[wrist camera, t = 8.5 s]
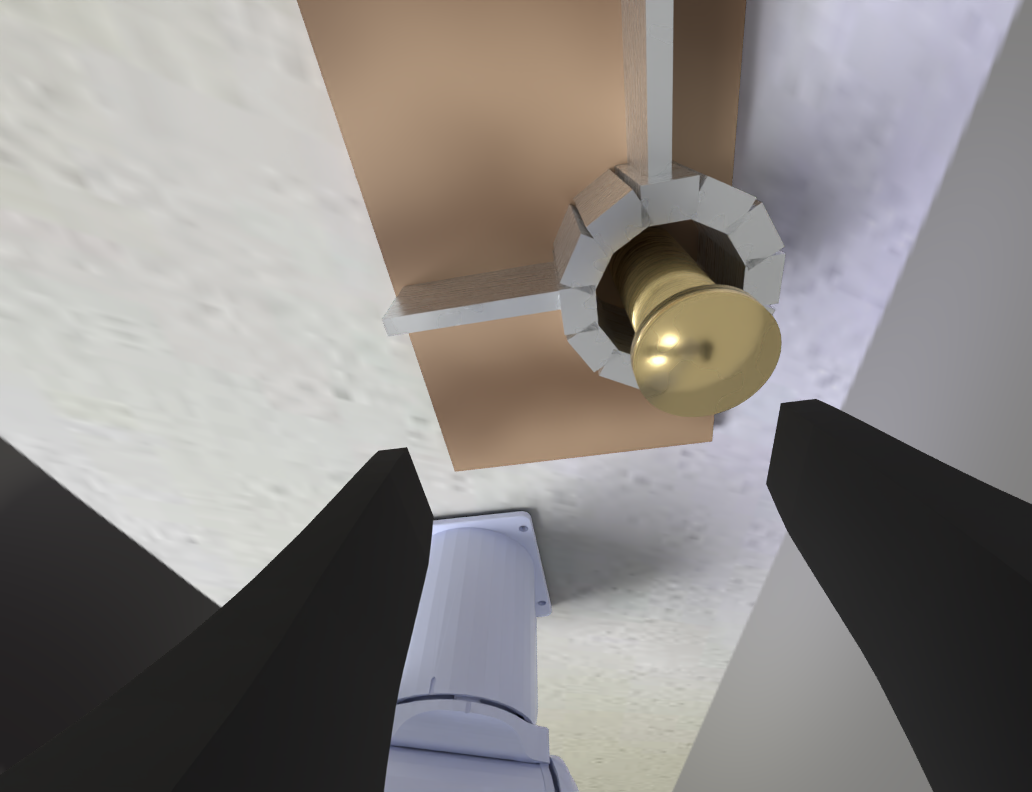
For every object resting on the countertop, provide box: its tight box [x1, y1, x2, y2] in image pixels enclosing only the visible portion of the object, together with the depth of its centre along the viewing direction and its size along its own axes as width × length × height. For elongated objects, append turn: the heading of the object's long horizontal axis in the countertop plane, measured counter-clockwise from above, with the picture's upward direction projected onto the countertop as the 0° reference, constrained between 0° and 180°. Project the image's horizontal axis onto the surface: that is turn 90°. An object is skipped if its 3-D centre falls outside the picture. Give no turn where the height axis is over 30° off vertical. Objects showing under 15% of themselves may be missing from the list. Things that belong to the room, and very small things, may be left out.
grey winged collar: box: [382, 0, 786, 389], centre depth 13 cm, size 12×12×4 cm
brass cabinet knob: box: [609, 226, 781, 417], centre depth 13 cm, size 3×3×7 cm
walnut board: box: [297, 0, 746, 472], centre depth 16 cm, size 20×12×1 cm, turn 10°
